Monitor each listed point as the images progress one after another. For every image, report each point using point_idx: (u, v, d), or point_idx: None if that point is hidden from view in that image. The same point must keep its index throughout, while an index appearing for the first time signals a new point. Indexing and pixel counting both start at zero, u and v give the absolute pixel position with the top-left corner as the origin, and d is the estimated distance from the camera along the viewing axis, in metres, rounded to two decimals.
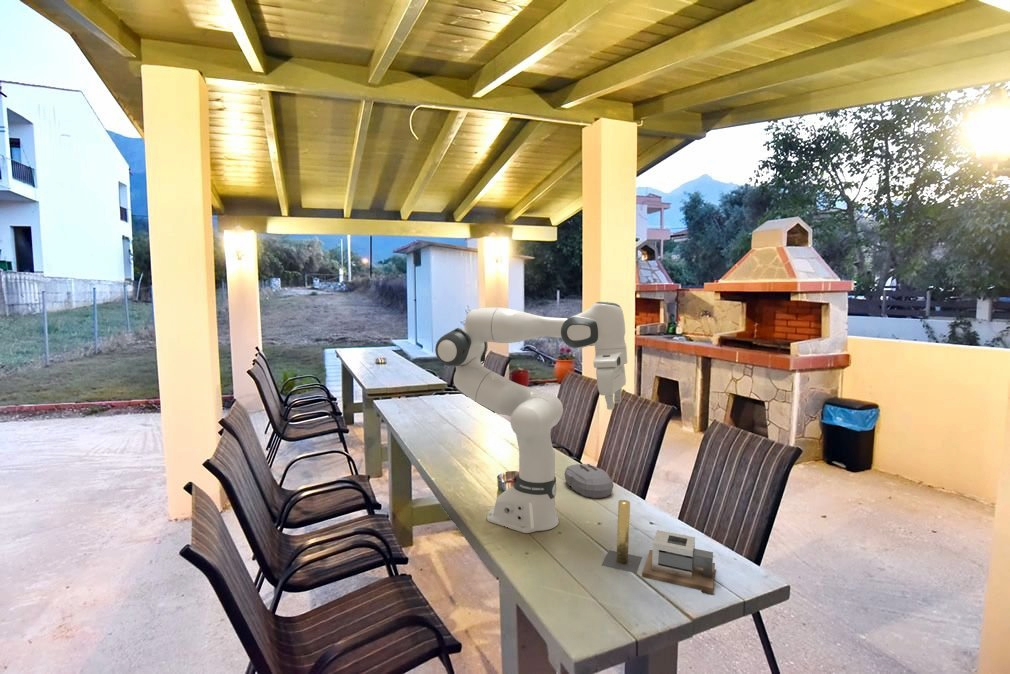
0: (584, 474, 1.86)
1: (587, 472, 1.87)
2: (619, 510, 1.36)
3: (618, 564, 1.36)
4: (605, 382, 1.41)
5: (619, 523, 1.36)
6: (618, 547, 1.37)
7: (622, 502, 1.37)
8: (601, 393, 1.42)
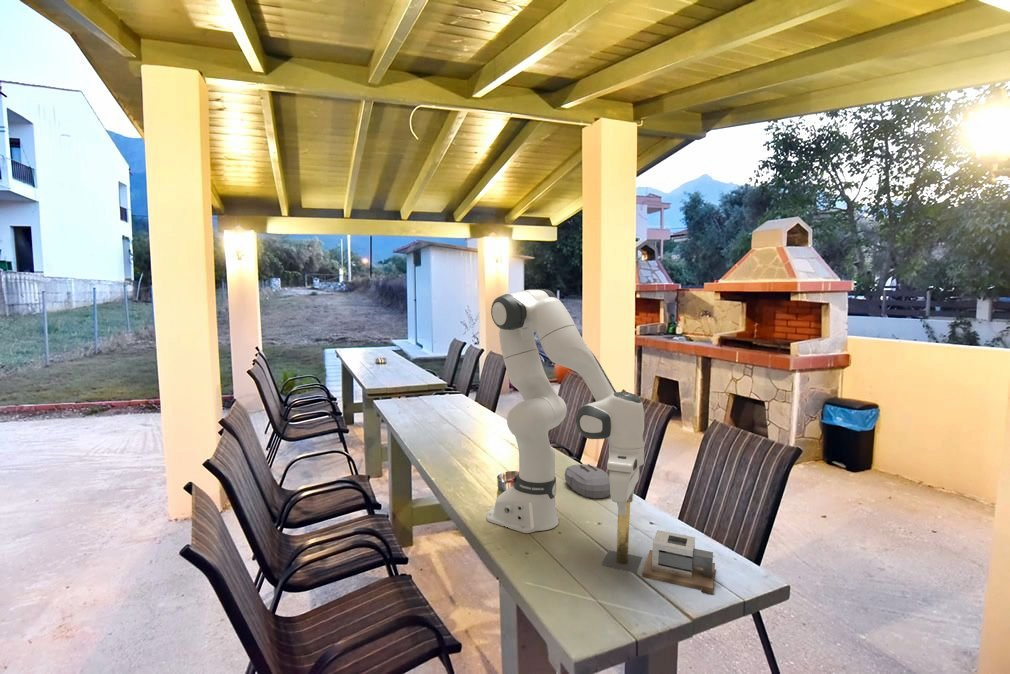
0: (584, 474, 1.85)
1: (587, 472, 1.87)
2: None
3: (618, 564, 1.36)
4: (619, 489, 1.27)
5: (619, 523, 1.36)
6: (618, 547, 1.37)
7: None
8: (613, 500, 1.28)
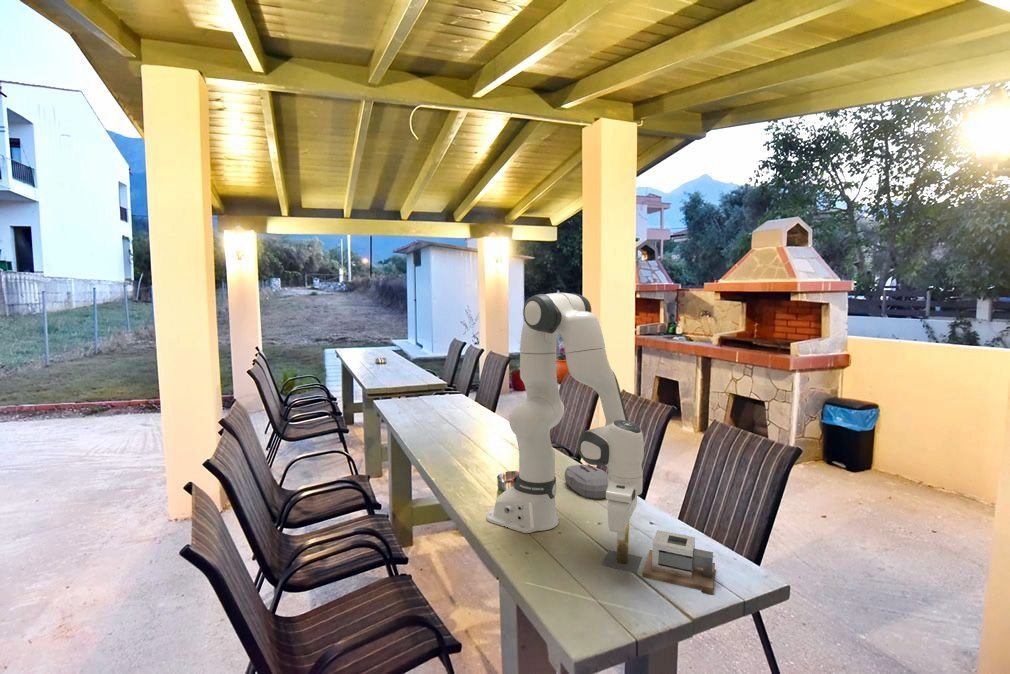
0: (584, 475, 1.85)
1: (588, 472, 1.86)
2: None
3: (618, 564, 1.36)
4: (617, 519, 1.28)
5: None
6: (618, 547, 1.37)
7: None
8: (611, 529, 1.29)
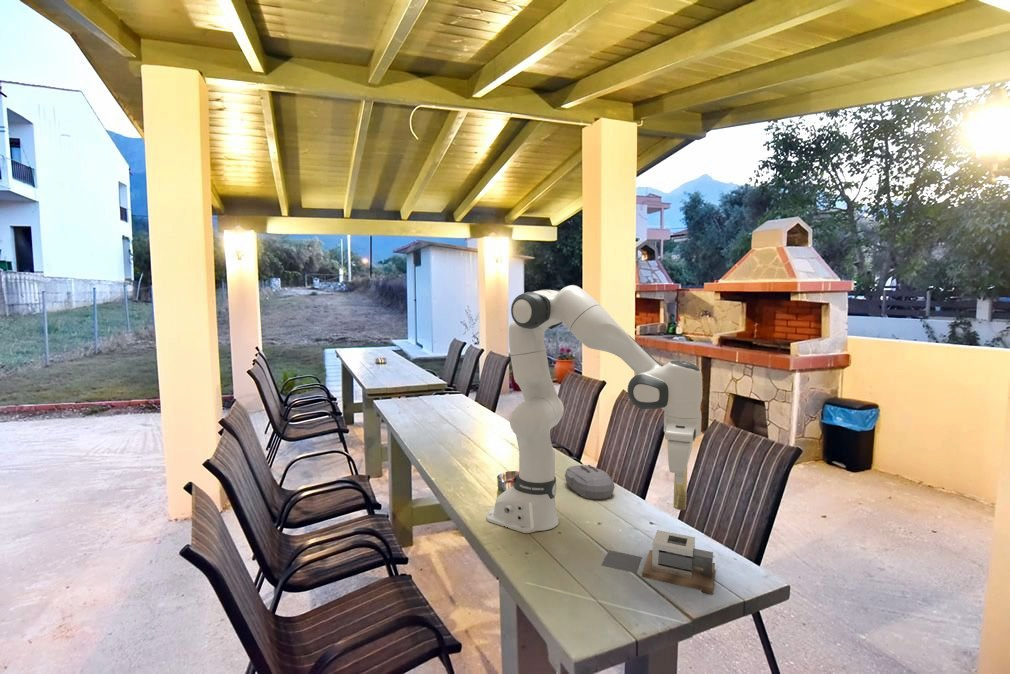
0: (585, 475, 1.85)
1: (588, 473, 1.86)
2: None
3: (618, 564, 1.36)
4: (678, 459, 1.22)
5: None
6: (676, 493, 1.31)
7: None
8: (672, 470, 1.23)
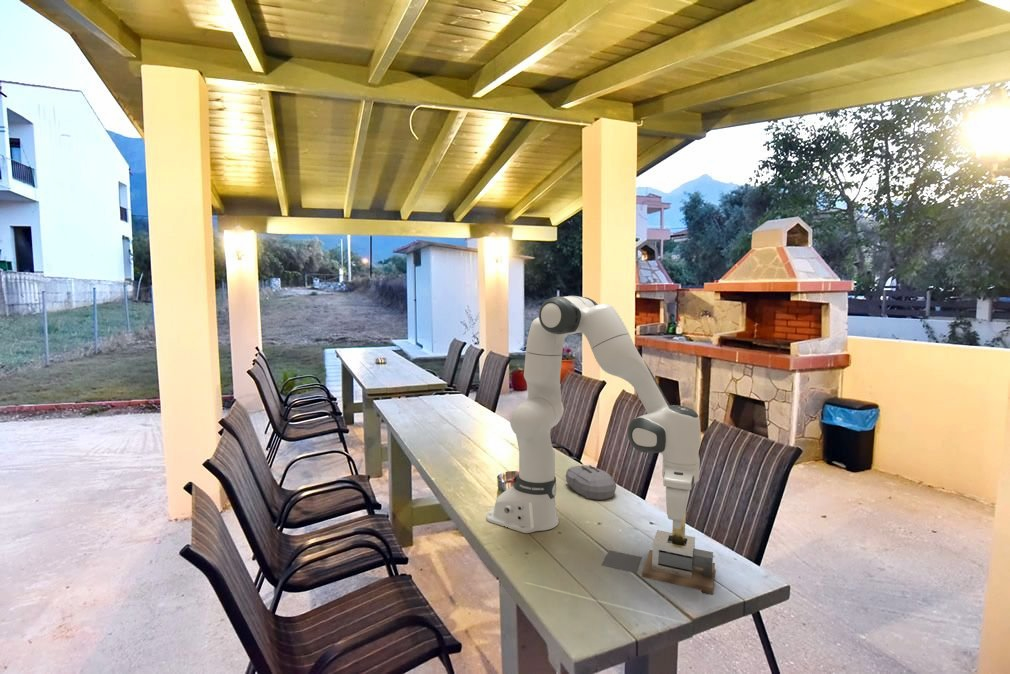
0: (587, 476, 1.84)
1: (590, 473, 1.86)
2: None
3: (618, 564, 1.36)
4: (676, 506, 1.23)
5: None
6: (674, 537, 1.32)
7: None
8: (670, 518, 1.24)
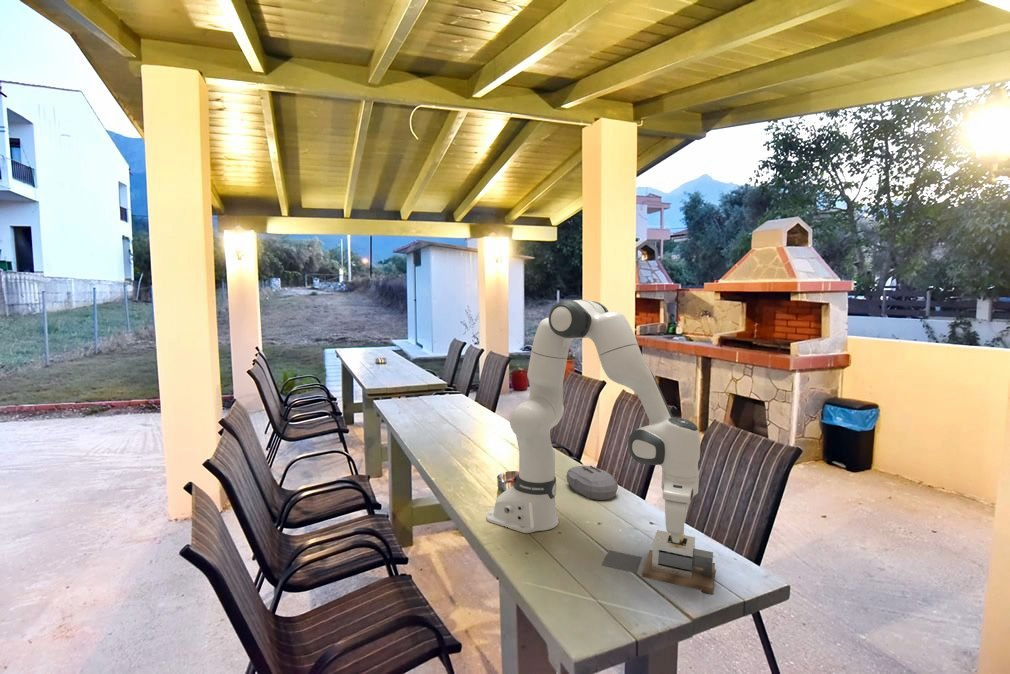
0: (588, 476, 1.84)
1: (592, 473, 1.85)
2: None
3: (618, 564, 1.36)
4: (675, 520, 1.23)
5: None
6: None
7: None
8: (669, 531, 1.24)
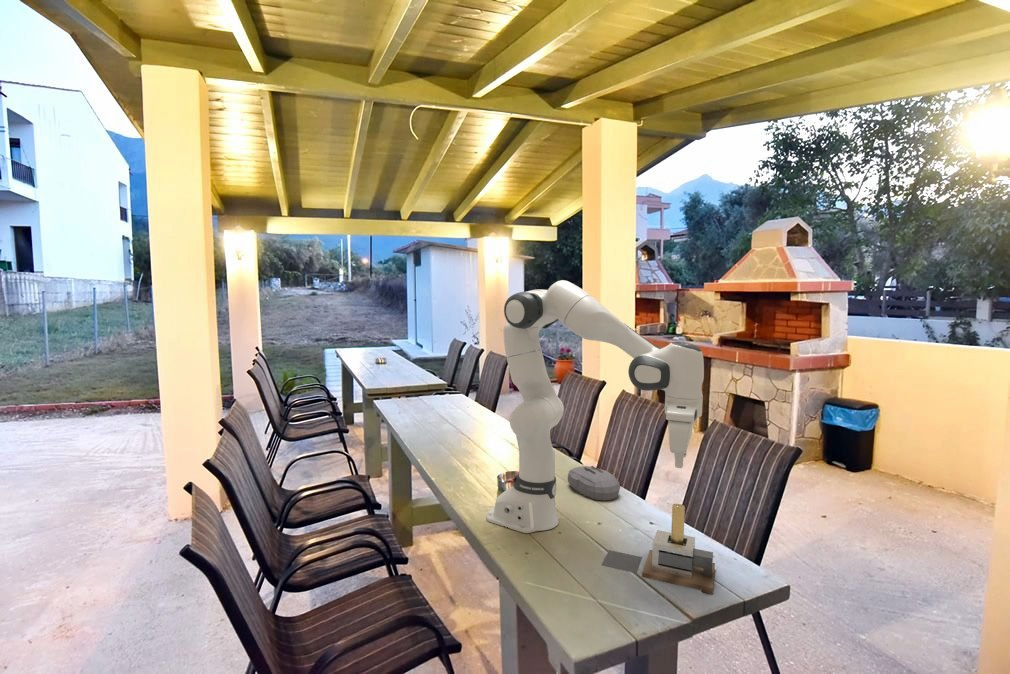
0: (591, 477, 1.83)
1: (594, 474, 1.85)
2: (673, 514, 1.32)
3: (618, 564, 1.36)
4: (679, 439, 1.22)
5: (673, 528, 1.32)
6: None
7: (676, 506, 1.32)
8: (672, 450, 1.22)
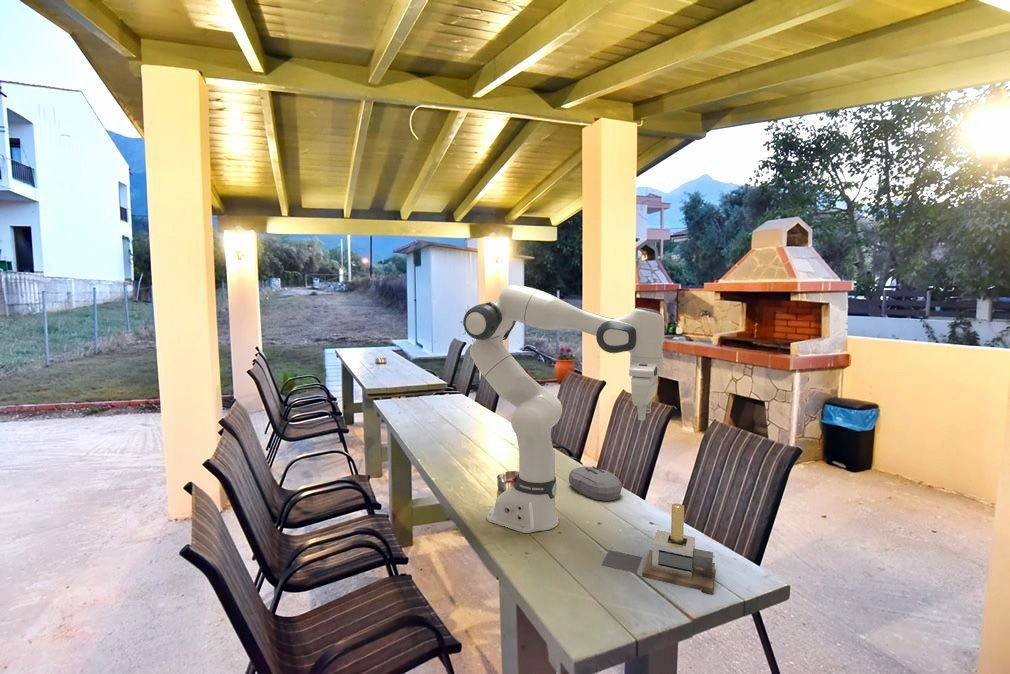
0: (593, 477, 1.83)
1: (596, 474, 1.84)
2: (673, 514, 1.32)
3: (618, 564, 1.36)
4: (640, 392, 1.35)
5: (673, 528, 1.32)
6: None
7: (676, 506, 1.32)
8: (634, 403, 1.36)
